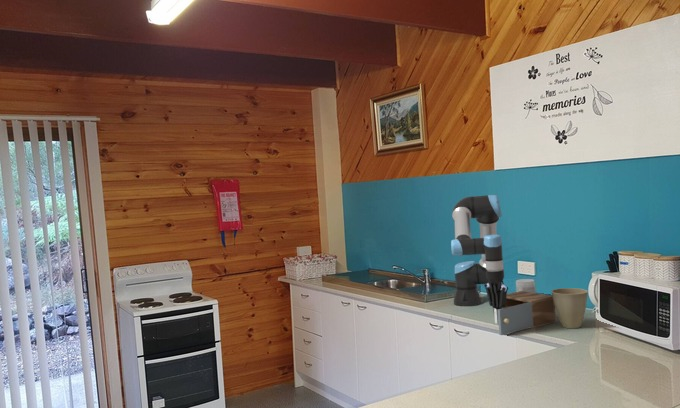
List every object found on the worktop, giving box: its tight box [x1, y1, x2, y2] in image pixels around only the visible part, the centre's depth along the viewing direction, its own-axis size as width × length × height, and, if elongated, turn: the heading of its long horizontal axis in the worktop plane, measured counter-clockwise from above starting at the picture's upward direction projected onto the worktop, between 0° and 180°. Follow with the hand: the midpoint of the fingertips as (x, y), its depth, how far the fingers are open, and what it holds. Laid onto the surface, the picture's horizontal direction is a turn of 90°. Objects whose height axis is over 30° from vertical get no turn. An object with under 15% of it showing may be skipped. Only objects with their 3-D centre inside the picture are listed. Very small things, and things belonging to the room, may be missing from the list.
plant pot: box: [551, 287, 589, 329], centre depth 239 cm, size 15×15×16 cm
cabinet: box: [504, 291, 557, 328], centre depth 254 cm, size 20×14×12 cm
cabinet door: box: [498, 302, 534, 336], centre depth 236 cm, size 20×3×11 cm, turn 119°
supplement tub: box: [515, 278, 537, 293], centre depth 279 cm, size 10×10×15 cm
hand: (498, 322), depth 237 cm, fingers closed
